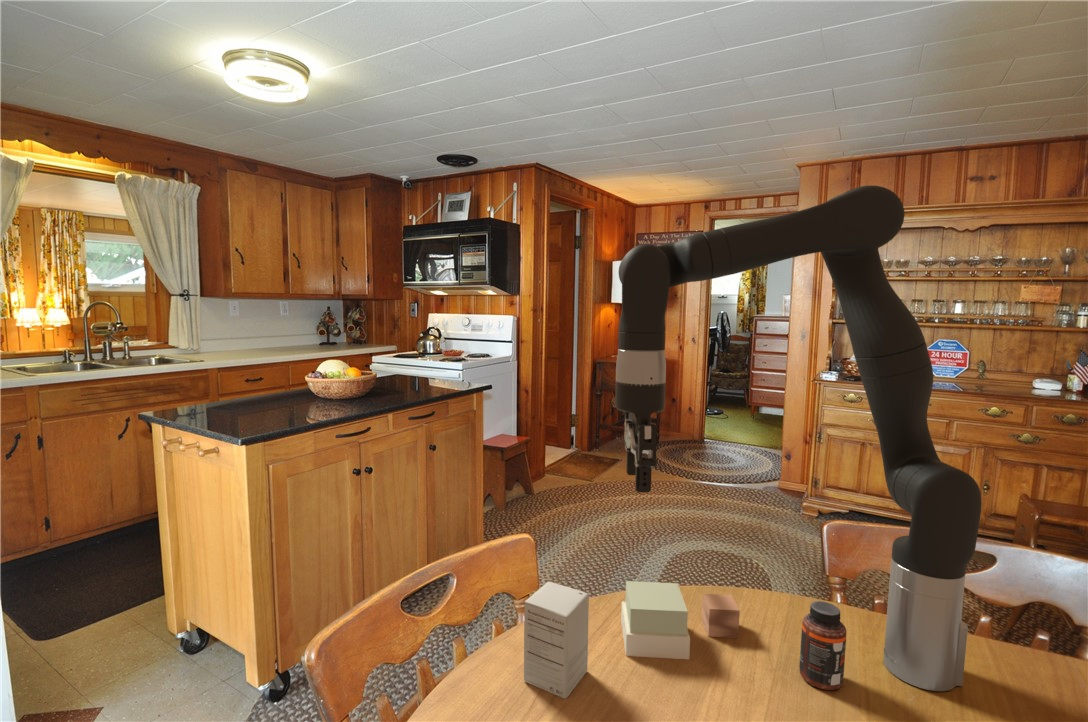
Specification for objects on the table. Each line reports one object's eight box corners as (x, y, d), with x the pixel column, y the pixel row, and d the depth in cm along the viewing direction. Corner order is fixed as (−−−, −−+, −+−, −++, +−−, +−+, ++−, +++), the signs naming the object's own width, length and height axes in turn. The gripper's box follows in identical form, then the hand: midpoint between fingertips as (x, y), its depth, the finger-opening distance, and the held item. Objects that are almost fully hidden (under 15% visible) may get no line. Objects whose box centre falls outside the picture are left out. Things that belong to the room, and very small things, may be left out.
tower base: (677, 625, 96) (678, 604, 96) (689, 661, 86) (690, 637, 86) (621, 622, 97) (621, 601, 96) (625, 658, 87) (626, 634, 86)
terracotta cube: (729, 621, 97) (731, 595, 96) (738, 638, 92) (739, 610, 92) (701, 620, 97) (702, 593, 97) (708, 636, 92) (709, 608, 92)
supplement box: (547, 655, 86) (548, 579, 85) (588, 671, 83) (590, 592, 82) (521, 682, 80) (522, 600, 79) (565, 701, 76) (567, 615, 75)
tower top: (677, 605, 95) (677, 583, 95) (686, 635, 86) (687, 611, 86) (625, 602, 96) (626, 581, 95) (630, 632, 87) (630, 608, 87)
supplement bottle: (848, 695, 78) (854, 621, 77) (804, 689, 80) (809, 616, 79) (835, 669, 84) (840, 599, 83) (794, 663, 85) (798, 595, 84)
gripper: (676, 385, 76) (672, 498, 77) (655, 374, 90) (652, 469, 91) (622, 385, 76) (620, 498, 77) (610, 373, 90) (608, 469, 91)
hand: (637, 482), depth 84 cm, fingers open, 8 cm apart
